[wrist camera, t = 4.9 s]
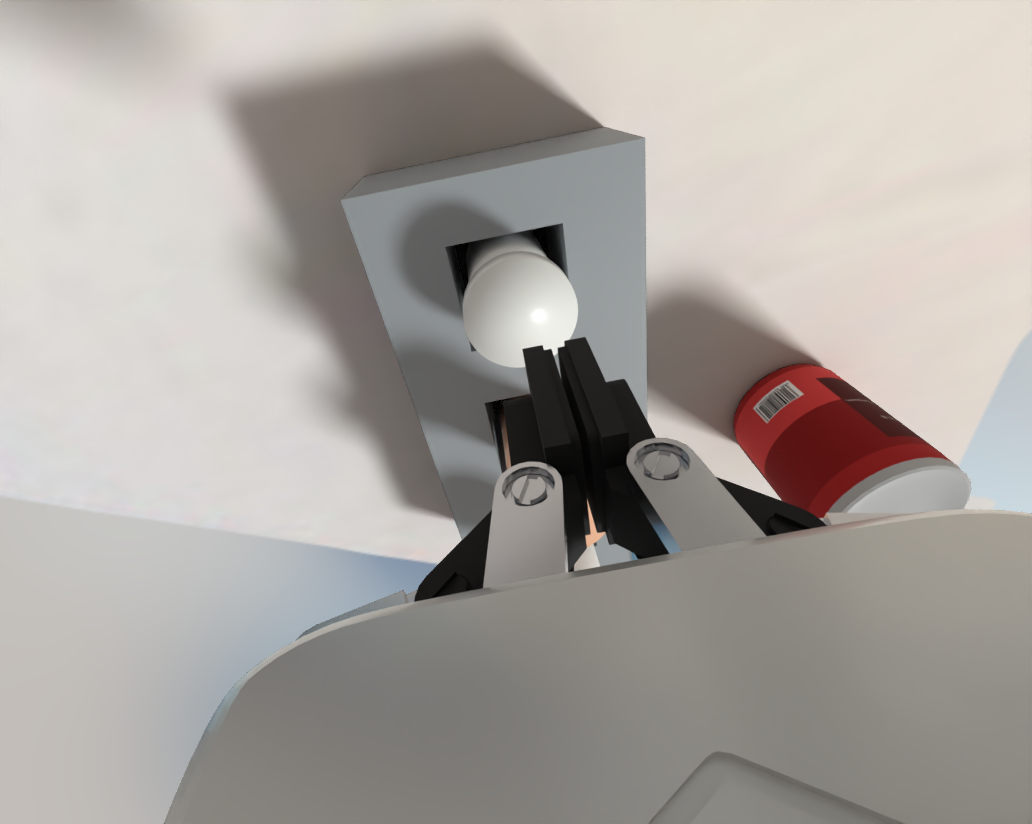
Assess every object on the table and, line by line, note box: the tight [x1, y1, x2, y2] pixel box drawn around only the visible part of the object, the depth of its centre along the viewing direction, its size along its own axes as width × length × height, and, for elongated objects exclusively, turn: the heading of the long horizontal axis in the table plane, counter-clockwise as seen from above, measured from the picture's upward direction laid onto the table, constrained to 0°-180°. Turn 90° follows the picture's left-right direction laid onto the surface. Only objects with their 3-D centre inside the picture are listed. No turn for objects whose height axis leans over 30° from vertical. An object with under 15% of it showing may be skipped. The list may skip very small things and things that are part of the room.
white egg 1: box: [463, 230, 578, 368], centre depth 22 cm, size 5×5×8 cm
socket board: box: [340, 127, 647, 566], centre depth 28 cm, size 26×12×6 cm, turn 10°
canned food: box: [733, 364, 971, 518], centre depth 30 cm, size 8×8×11 cm
